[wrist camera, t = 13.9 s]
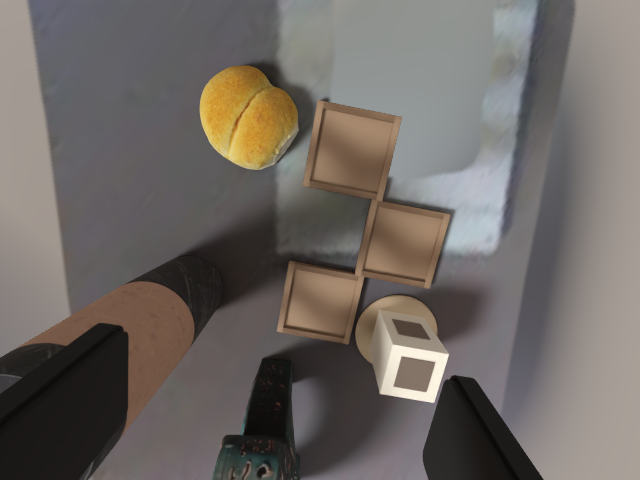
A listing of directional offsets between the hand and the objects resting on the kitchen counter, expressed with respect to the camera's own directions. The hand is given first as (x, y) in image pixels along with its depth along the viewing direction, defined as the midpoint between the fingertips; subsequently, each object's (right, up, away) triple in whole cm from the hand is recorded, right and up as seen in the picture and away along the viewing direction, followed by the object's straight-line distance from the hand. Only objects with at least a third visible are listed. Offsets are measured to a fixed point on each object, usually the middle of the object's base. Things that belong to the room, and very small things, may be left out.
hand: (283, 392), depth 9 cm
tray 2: (+1, -2, +25) cm, 25 cm away
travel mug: (-13, -1, +25) cm, 28 cm away
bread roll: (-5, +16, +22) cm, 27 cm away
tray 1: (+4, +13, +22) cm, 26 cm away
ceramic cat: (-4, -17, +29) cm, 34 cm away
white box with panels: (+9, -6, +25) cm, 28 cm away
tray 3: (+9, +4, +24) cm, 26 cm away
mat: (+9, -6, +26) cm, 28 cm away
